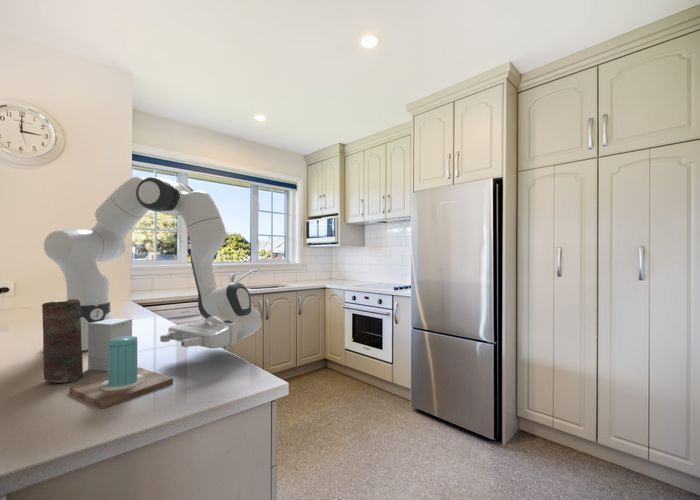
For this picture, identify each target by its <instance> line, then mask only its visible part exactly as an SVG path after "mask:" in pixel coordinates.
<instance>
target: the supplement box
mask: <svg viewBox="0 0 700 500" xmlns="http://www.w3.org/2000/svg"><path fill="white" fill-rule="evenodd" d="M126 336H133V319H132V318H115V317H114V318H111V319H107V320H102V321H98V322H93V323H89V324H88V350H87V369H88V370H92V371H94V370H95V371H104V372H108V341H109V340H111V339H114V338H118V337H126Z"/></svg>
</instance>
